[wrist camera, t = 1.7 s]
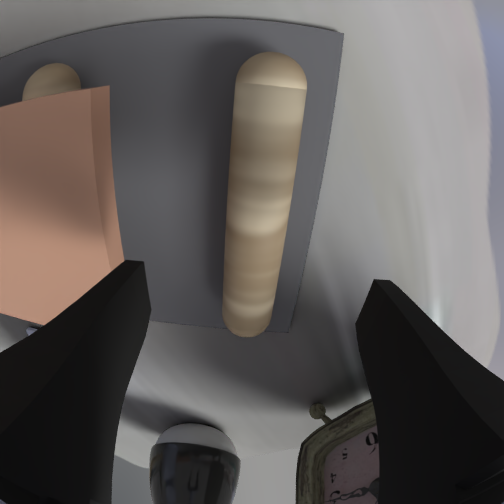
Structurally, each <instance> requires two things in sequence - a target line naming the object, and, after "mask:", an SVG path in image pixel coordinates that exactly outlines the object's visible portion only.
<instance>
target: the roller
mask: <svg viewBox="0 0 504 504" xmlns="http://www.w3.org/2000/svg"><path fill="white" fill-rule="evenodd" d="M306 93H307V80H306V76H305V73H304V71H303V69H302V68H301V66H300V65H299V64H298V63H297V62H296V61H295V60H294V59H292V58H291V57H289V56H288V55H285V54H282V53H279V52H263V53H259V54H256V55H254V56H252V57H251V58H249V59H248V60H247V61H246V62H245V63H244V64H243V65H242V66H241V68H240V69H239V71H238V74H237V77H236V83H235V95H234V107H233V120H232V134H231V148H230V163H229V179H228V195H227V213H226V232H225V253H224V277H223V304H222V316H223V321H224V323H225V325H226V327H227V328H228V329H229V330H230V331H231V332H232V333H233V334H235V335H237V336H240V337H254V336H257V335H259V334H260V333H262V332H263V331H264V330H265V329H266V328H267V326H268V325H269V323H270V320H271V316H272V310H273V305H274V299H275V294H276V288H277V283H278V277H279V271H280V266H281V260H282V254H283V248H284V242H285V236H286V230H287V224H288V218H289V211H290V205H291V199H292V192H293V186H294V179H295V172H296V166H297V159H298V152H299V145H300V138H301V131H302V123H303V116H304V108H305V101H306Z"/></svg>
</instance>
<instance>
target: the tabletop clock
mask: <svg viewBox="0 0 504 504" xmlns="http://www.w3.org/2000/svg"><path fill="white" fill-rule="evenodd" d="M325 412H326V410H325V407H324V406H323V405H322V404H320V403H316V404H314V405H312V406H311V407H310V410H309V413H310V415H311V417H312V418H314V419H322V420H323V421H324V423H325V425H323V426H321V427H320V428H318V429H317V430H316V431H314V432H313V433H312V434H310V435H309V436H308V437H307V438H306V439H305V440H304V441H303V442H302V444H301V448H300V452H299V456H298V462H297V472H296V504H378V494H379V445H378V433H377V423H376V416H375V411H374V406H373V402H372V398H371V399H369V400H367V401H365V402H363V403H361V404H359V405H357V406H355V407H353V408H351V409H350V410H348V411H347V412H345V413H343V414H342V415H340V416H338V417H337V418H335V419H333V420H331V419H330V418H329V417H327V416H326V415H325Z"/></svg>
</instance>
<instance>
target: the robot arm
mask: <svg viewBox="0 0 504 504" xmlns="http://www.w3.org/2000/svg"><path fill="white" fill-rule="evenodd" d="M151 310H152V309H151V303H150V298H149V292H148V285H147V279H146V272H145V265H144V261H135V260H125V261H124V262H122V263H121V264H120V265H118V266H117V267H116V268H115V269H114V270H112V271H111V272H110V273H109V274H108V275H106V276H105V277H104V278H103V279H102V280H100V281H99V282H98V283H97V284H96V285H94V286H93V287H92V288H91V289H90V290H89V291H87V292H86V293H85V294H84V295H83V296H81V297H80V298H79V299H78V300H76V301H75V302H74V303H73V304H71V305H70V306H69V307H67V308H66V309H65V310H64V311H62V312H61V313H60V314H59V315H57V316H56V317H55V318H54V319H52V320H51V321H49V322H48V323H47V324H45V325H44V326H42V327H41V328H40V329H35V328H31V327H28V328H27V330H26V332H27V334H28V337H26V338H25V339H23V340H21V341H19V342H18V343H16V344H14V345H13V346H11V347H9V348H8V349H6V350H4V351H2V352H1V353H0V504H111V495H112V492H111V491H112V472H113V460H114V451H115V444H116V437H117V430H118V424H119V419H120V414H121V409H122V404H123V400H124V397H125V393H126V390H127V387H128V384H129V381H130V379H131V376H132V373H133V370H134V367H135V364H136V362H137V359H138V356H139V353H140V350H141V348H142V345H143V342H144V339H145V336H146V332H147V328H148V323H149V319H150V315H151ZM355 325H356V332H357V340H358V346H359V352H360V356H361V360H362V363H363V367H364V371H365V375H366V378H367V382H368V386H369V390H370V394H371V398H372V402H373V406H374V411H375V416H376V423H377V433H378V445H379V494H378V504H504V381H503V380H502V379H500V378H499V377H497V376H496V375H495V374H493V373H492V372H490V371H489V370H488V369H486V368H485V367H484V366H482V365H481V364H480V363H479V362H478V361H476V360H475V359H474V358H473V357H471V356H470V355H469V354H468V353H467V352H465V351H464V350H463V349H462V348H461V347H460V346H459V345H457V344H456V343H455V342H454V341H453V340H452V339H451V338H450V337H449V336H448V335H447V334H446V333H445V332H444V331H443V330H442V329H440V328H439V327H438V326H437V325H436V324H435V323H434V322H433V321H432V320H431V319H430V318H429V317H428V316H427V315H426V314H425V313H424V312H423V311H422V310H421V309H420V308H419V307H418V306H417V305H416V304H415V303H414V302H413V301H412V300H411V299H410V298H409V297H408V296H407V295H406V294H405V293H404V292H403V291H402V290H401V289H400V288H399V287H398V286H396V285H395V284H394V283H393V282H392V281H390V280H377V279H374V280H373V283H372V285H371V288H370V290H369V293H368V295H367V298H366V300H365V303H364V305H363V308H362V310H361V312H360V315H359V317H358V319H357V322H356V324H355Z"/></svg>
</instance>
